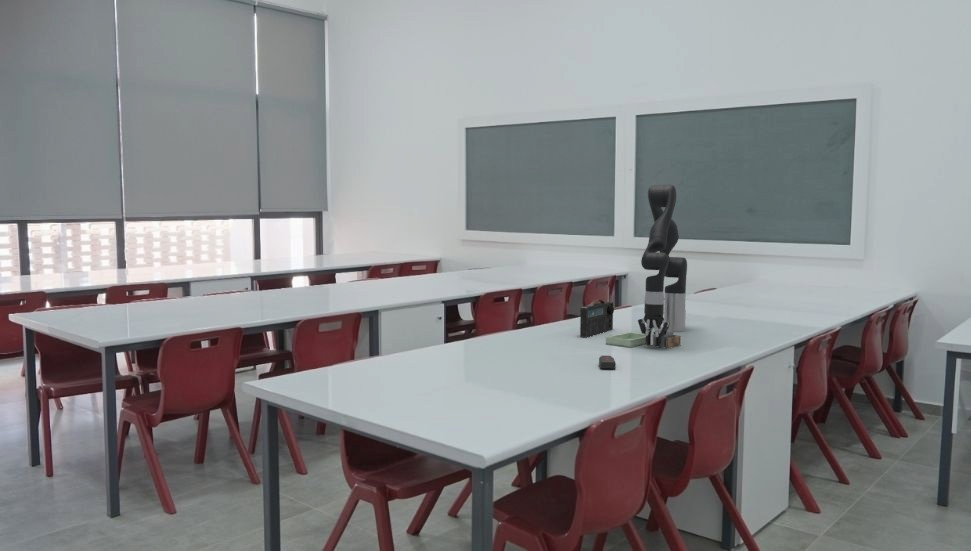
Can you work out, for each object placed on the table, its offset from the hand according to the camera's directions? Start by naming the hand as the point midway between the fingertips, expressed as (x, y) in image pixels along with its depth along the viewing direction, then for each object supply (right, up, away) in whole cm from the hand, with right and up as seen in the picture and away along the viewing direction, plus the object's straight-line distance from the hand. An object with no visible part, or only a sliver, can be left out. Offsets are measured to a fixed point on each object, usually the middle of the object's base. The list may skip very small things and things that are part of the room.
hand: (653, 345), depth 315 cm
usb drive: (-24, -4, -33) cm, 41 cm away
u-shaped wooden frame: (+6, -1, +6) cm, 8 cm away
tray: (-7, 0, +11) cm, 13 cm away
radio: (-17, +2, +36) cm, 40 cm away
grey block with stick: (+3, -1, +4) cm, 5 cm away
